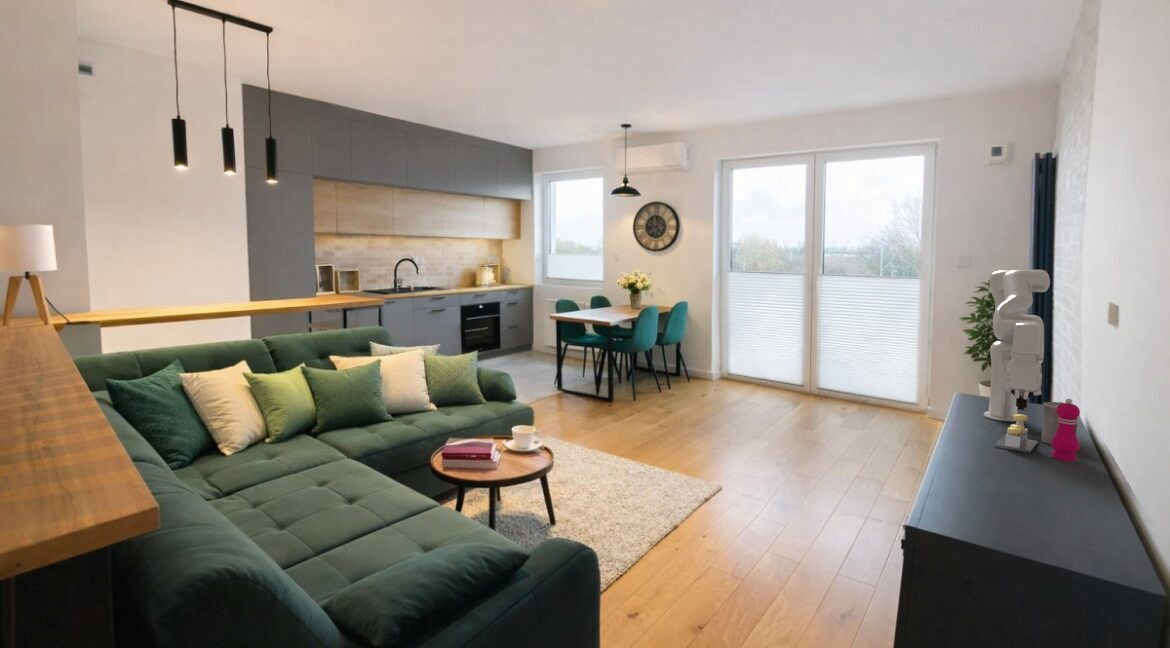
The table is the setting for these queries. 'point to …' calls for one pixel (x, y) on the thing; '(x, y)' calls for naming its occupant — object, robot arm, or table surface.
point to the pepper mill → (1066, 432)
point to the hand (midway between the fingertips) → (1021, 409)
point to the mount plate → (1016, 442)
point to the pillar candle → (1050, 421)
